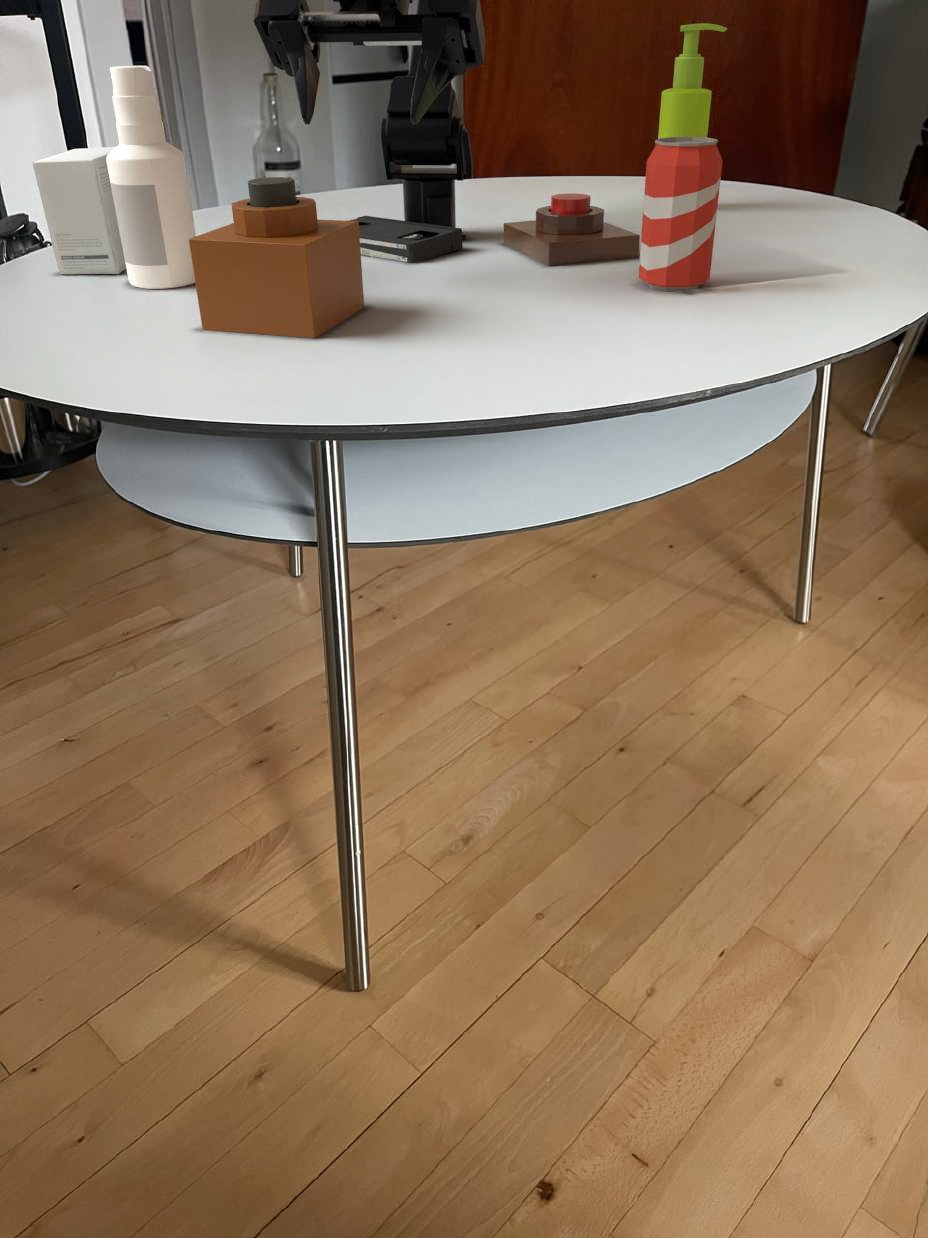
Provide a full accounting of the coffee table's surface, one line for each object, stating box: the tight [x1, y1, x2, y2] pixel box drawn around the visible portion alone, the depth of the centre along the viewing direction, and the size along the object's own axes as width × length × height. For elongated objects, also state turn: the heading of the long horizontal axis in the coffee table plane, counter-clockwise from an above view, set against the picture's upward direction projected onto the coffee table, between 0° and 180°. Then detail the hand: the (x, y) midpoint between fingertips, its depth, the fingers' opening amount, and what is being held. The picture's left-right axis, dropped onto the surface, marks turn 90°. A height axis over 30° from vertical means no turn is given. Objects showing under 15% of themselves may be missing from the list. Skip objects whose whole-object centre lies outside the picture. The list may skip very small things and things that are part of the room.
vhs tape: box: [348, 215, 464, 264], centre depth 106 cm, size 14×8×2 cm, turn 50°
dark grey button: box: [247, 176, 297, 207], centre depth 77 cm, size 4×4×2 cm
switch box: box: [503, 205, 641, 267], centre depth 103 cm, size 12×10×4 cm
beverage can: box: [638, 137, 724, 293], centre depth 87 cm, size 6×6×12 cm
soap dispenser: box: [657, 22, 728, 139], centre depth 120 cm, size 6×7×20 cm
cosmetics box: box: [31, 146, 127, 275], centre depth 99 cm, size 10×6×10 cm, turn 177°
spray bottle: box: [106, 65, 197, 290], centre depth 90 cm, size 7×7×18 cm
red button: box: [550, 192, 591, 214], centre depth 102 cm, size 4×4×2 cm
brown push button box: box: [189, 196, 365, 339], centre depth 80 cm, size 10×10×9 cm
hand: (359, 120), depth 82 cm, fingers open, 9 cm apart
